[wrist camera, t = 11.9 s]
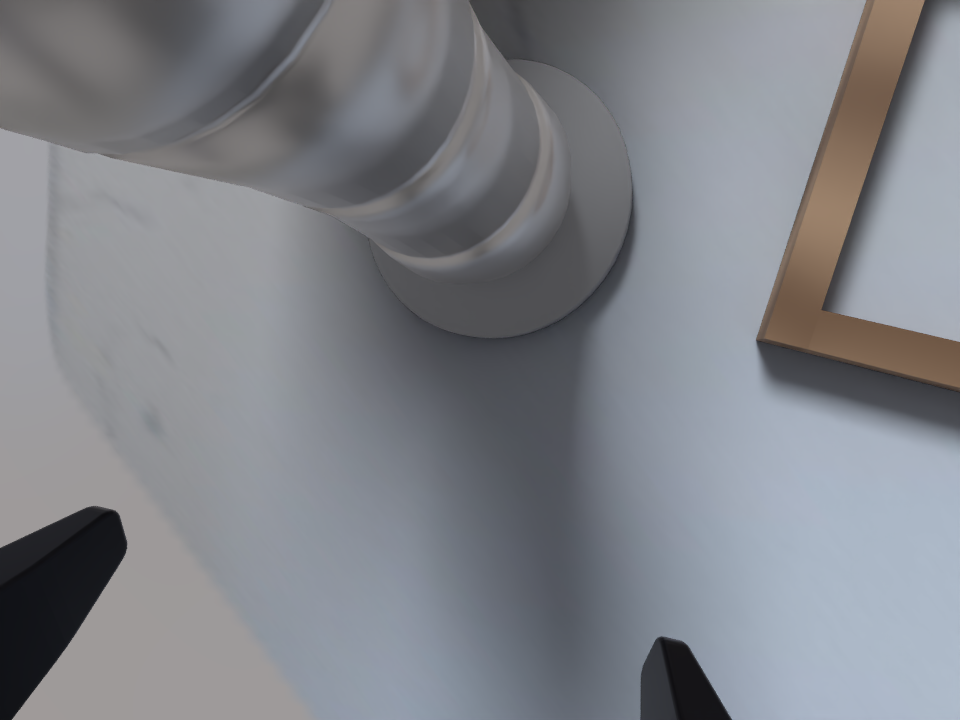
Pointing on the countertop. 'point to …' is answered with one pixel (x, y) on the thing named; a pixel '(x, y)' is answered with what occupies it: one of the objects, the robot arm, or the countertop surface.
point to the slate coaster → (574, 248)
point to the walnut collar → (830, 212)
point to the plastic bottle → (307, 114)
